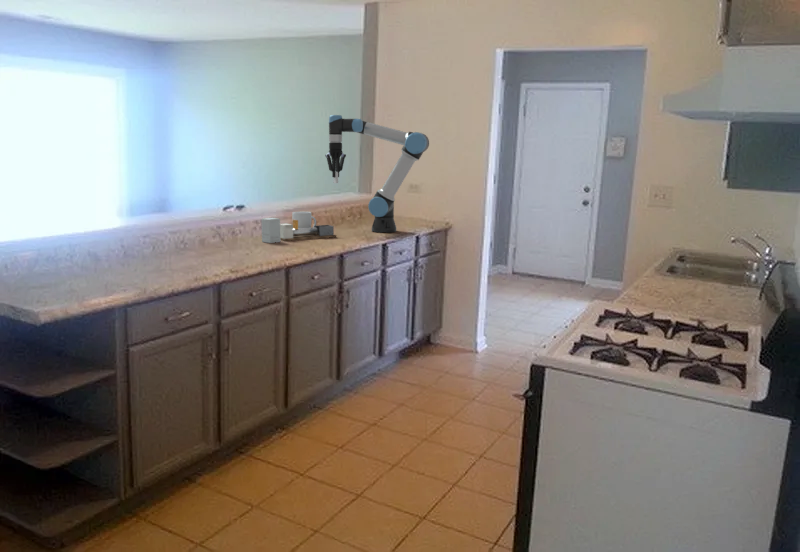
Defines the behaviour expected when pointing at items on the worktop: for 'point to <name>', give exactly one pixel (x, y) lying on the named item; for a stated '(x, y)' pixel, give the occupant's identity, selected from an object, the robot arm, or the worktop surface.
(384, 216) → the robot arm
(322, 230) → the sleeve
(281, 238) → the rail board
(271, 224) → the supplement box
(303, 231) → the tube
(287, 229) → the socket
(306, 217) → the mug
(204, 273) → the worktop surface
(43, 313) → the worktop surface
